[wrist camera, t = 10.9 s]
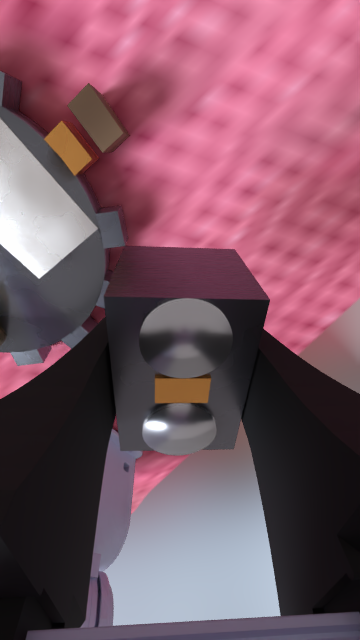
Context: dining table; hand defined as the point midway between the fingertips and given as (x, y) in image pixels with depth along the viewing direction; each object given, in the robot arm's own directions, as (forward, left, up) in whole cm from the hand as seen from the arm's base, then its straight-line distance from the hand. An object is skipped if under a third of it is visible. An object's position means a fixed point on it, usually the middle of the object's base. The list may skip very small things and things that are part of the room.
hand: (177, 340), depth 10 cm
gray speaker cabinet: (0, 0, -2) cm, 2 cm away
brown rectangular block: (+8, -2, -8) cm, 11 cm away
